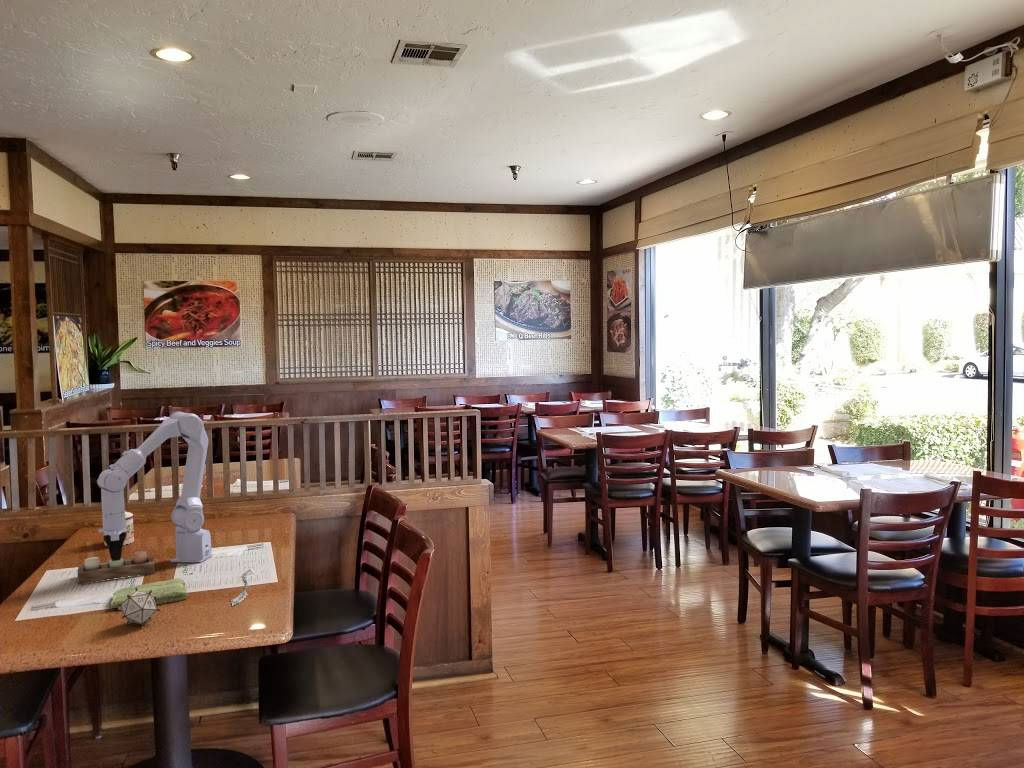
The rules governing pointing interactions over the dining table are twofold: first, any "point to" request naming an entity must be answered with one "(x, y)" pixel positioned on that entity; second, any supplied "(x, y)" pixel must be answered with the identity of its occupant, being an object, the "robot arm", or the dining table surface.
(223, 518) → the dining table surface
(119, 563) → the sage button
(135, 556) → the terracotta button
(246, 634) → the dining table surface
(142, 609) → the game die
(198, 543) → the robot arm
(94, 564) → the cream button
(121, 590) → the washcloth
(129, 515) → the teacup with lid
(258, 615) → the dining table surface
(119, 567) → the button panel
